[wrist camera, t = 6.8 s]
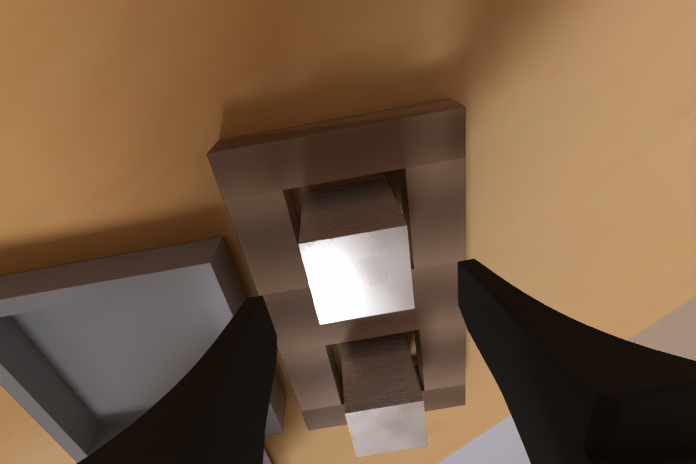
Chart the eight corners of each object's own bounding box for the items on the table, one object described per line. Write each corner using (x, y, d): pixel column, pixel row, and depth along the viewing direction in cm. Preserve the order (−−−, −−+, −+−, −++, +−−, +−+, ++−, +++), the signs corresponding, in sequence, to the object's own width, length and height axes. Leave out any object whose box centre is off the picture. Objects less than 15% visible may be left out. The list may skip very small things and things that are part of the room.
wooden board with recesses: (455, 380, 27) (465, 404, 25) (309, 404, 27) (308, 430, 25) (450, 98, 17) (465, 106, 15) (218, 141, 17) (206, 153, 15)
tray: (285, 399, 26) (283, 432, 24) (99, 430, 27) (80, 465, 24) (222, 236, 19) (210, 262, 17) (-29, 280, 20) (-72, 312, 18)
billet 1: (390, 236, 20) (414, 308, 15) (320, 248, 20) (320, 324, 15) (382, 169, 18) (407, 225, 13) (304, 182, 18) (298, 244, 13)
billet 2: (405, 359, 25) (427, 445, 20) (348, 369, 25) (356, 457, 20) (400, 317, 23) (423, 400, 18) (339, 327, 23) (345, 413, 18)
